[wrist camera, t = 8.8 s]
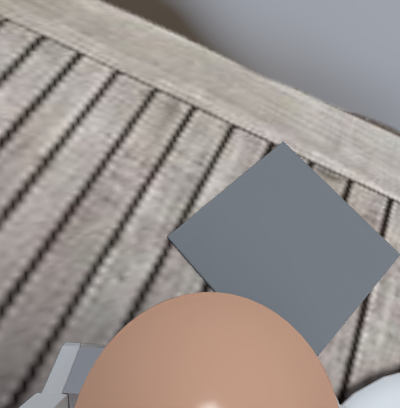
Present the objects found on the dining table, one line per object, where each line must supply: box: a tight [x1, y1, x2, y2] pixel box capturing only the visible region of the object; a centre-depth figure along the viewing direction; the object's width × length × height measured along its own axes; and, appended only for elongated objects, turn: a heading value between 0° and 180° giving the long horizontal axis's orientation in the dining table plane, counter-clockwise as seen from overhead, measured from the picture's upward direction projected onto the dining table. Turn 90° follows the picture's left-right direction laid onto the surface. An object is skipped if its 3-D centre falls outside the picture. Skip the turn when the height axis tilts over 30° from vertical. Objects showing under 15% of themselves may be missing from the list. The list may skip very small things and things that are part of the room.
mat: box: [168, 142, 400, 356], centre depth 29 cm, size 16×16×1 cm
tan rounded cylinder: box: [74, 292, 339, 408], centre depth 10 cm, size 5×5×10 cm
